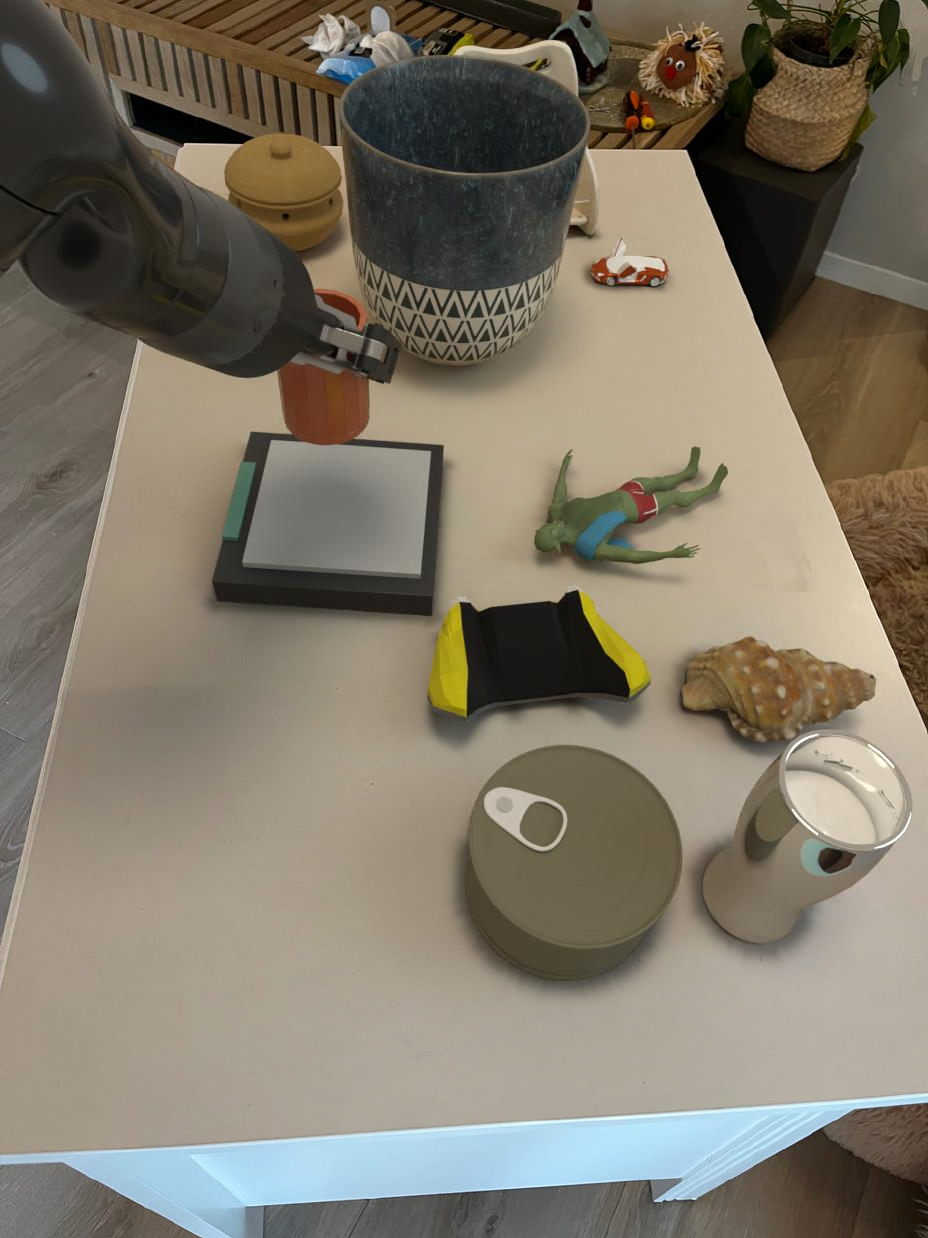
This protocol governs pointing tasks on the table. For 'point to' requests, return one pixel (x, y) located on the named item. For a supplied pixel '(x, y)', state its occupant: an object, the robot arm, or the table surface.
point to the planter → (459, 198)
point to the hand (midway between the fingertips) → (334, 350)
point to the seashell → (772, 688)
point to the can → (569, 861)
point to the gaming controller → (530, 657)
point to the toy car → (629, 268)
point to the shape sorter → (566, 74)
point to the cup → (326, 391)
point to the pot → (287, 187)
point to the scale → (333, 525)
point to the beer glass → (806, 833)
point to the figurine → (618, 515)
